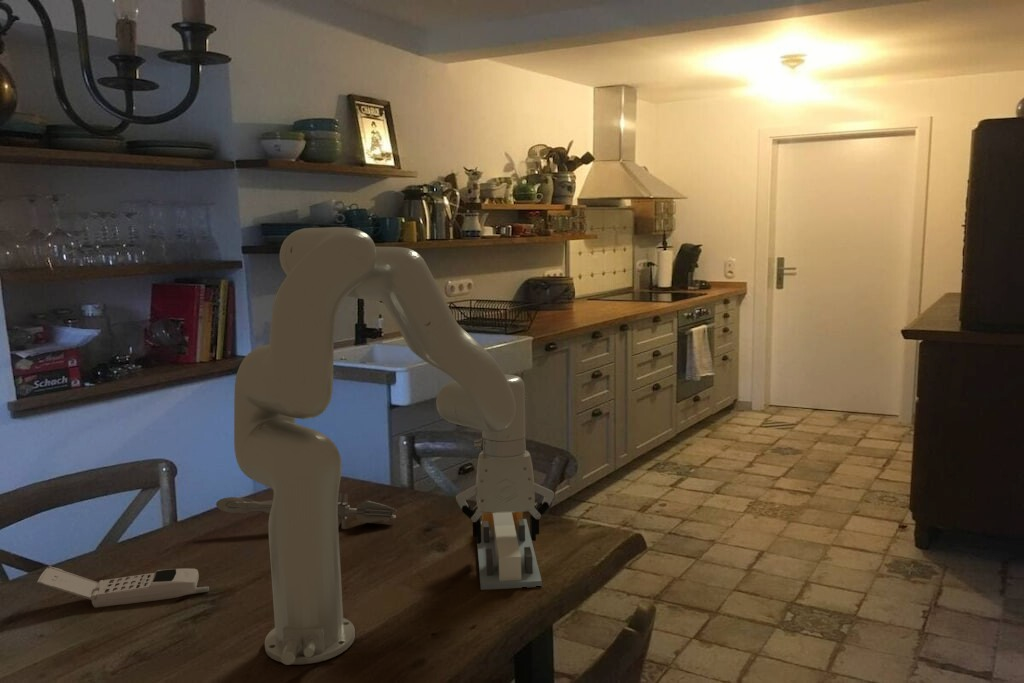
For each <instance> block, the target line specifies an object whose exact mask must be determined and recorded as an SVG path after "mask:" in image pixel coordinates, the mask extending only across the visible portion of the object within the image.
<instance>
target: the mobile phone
mask: <svg viewBox="0 0 1024 683" xmlns="http://www.w3.org/2000/svg"><path fill="white" fill-rule="evenodd" d="M199 577H200V574H199V571H198V569H197V568H187V567H186V568H169V569H159V570H156V571H155V572H151V573H144V574H137V575H129V576H123V577H117V578H111V579H104V580H103V579H101V580H99V582H98V581H95V580H92V579H90V578H86V577H84V576H80V575H78V574H75V573H71V572H68V571H66V570H63V569H61V568H58V567H53V566H50V565H49V566H47V567H46V568H45V569H44V570H43V572H42V573H41V574H40V576H39V577H38V579H37V580H36V583H37V584H39V585H40V584H41V585H44V586H46V587H50V588H52V589H54V590H55V589H56V590H58V591H61V592H64V593H68V594H71V595H75V596H78V597H80V598H84V599H87V600H91V604H92V606H93V608H103V607H104V608H105V607H111V606H112V607H113V606H120V605H121V606H122V605H128V604H137V603H138V604H139V603H145V602H152V601H153V602H154V601H161V600H169V599H177V598H180V597H181V598H182V597H183V596H184V597H185V596H188V595H195V594H200V593H206V592H209V591H210V586H199V587H197V586H198V582H199Z"/></svg>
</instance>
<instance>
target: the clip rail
mask: <svg viewBox="0 0 1024 683" xmlns="http://www.w3.org/2000/svg"><path fill="white" fill-rule="evenodd" d="M512 515H513V520H514V525H515V530H516V535H517V540H518V545H519V550H520V555H521V580H506V581H499V573H498V565H497V558H496V550H495V543H494V535H493V515H492V513H483V514H482V515H481V543H480V544H477V543H476V546H477V560H478V569H479V570H478V571H479V572H478V573H479V583H480V585H479V587H480V590H481V591H482V590H485V591H486V590H504V589H522V587H527V588H537V587H536V586H543V582H542V576H541V574H540V573H541V572H540V569H539V565H538V562H537V557H536V552H535V549H534V545H533V544H534V543H533V540H531V536H530V527H529V525H528V520H527V518H523V517H524V512H512Z"/></svg>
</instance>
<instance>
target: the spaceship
mask: <svg viewBox="0 0 1024 683" xmlns="http://www.w3.org/2000/svg"><path fill="white" fill-rule="evenodd" d="M348 495H349V494H348V493H347V492H346V493H344V496H343V493H342V492H339V493H338V529H339V527H340V522H341V529H345V528H346V527H345V526H346V520H347V518H348V517H349V516H350V515H355V516H356V517H355V518H356V520H360V521H362V522H363V523H365V524H371V523H377V522H383V521H388V520H391V521H392V520H393V519H396V518H397V515H395V514H393V513H397V509H396V508H393V507H390V506H388V505H385V504H382V503H379V502H378V503H377V502H374V501H371V500H365V501H363V502H360V503H359V504H358V503H357V505H356V507H351V506H350V504H348V503H349V502H348ZM342 500H343V502H342ZM272 503H273V499H270V500H269V499H268V500H264V501H263V500H262V501H255V500H253V499H251V498H248V497H237V496H230V497H229V496H227V497H224V498H220V499H218V501H216V504H215V506H216V508H217V509H219V510H221V511H223V512H226V513H232V514H234V513H235V514H237V513H238V514H247V513H250V512H253V511H257V512H258V511H260V512H263V513H266V514H268V515H270V511H271V507H272ZM340 520H341V521H340Z"/></svg>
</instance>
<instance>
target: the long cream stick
mask: <svg viewBox="0 0 1024 683" xmlns="http://www.w3.org/2000/svg"><path fill="white" fill-rule="evenodd" d="M492 515H493V535H494V543H495V550H496V558H497V565H498V573H499V581H506V580H521V555H520V550H519V545H518V540H517V535H516V530H515V525H514V520H513V515H512V512H507V513H492Z"/></svg>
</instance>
